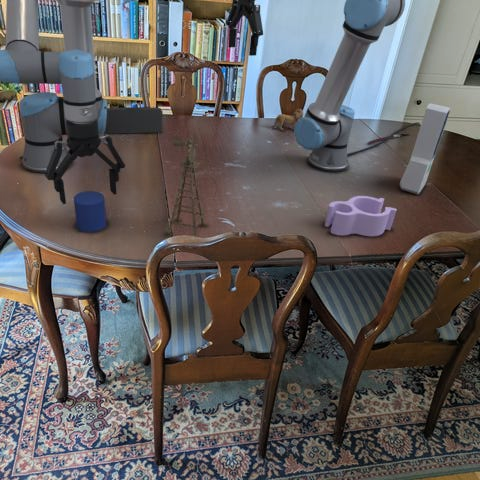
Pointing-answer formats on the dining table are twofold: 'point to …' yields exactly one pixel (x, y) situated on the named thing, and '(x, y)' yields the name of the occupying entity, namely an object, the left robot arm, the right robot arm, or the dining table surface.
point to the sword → (385, 138)
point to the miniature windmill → (187, 165)
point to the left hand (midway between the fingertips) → (88, 197)
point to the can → (90, 211)
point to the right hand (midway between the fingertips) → (241, 51)
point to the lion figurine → (289, 119)
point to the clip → (359, 216)
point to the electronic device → (425, 148)
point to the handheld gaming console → (134, 120)
